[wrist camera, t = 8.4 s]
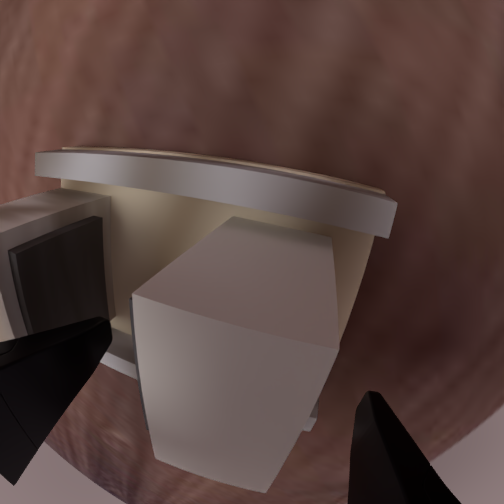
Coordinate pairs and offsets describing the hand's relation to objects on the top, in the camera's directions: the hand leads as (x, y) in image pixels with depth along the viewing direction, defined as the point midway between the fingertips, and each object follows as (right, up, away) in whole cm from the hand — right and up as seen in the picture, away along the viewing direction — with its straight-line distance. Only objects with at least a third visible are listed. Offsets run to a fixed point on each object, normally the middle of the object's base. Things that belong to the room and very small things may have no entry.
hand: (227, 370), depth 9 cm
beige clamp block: (-2, +3, +6) cm, 7 cm away
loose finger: (+1, +2, +4) cm, 5 cm away
